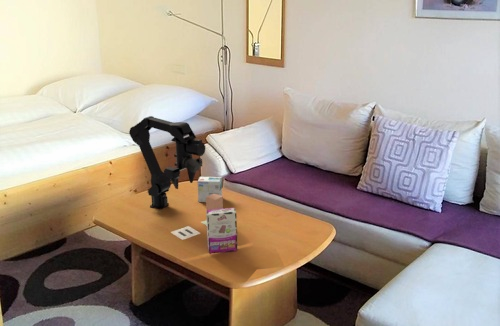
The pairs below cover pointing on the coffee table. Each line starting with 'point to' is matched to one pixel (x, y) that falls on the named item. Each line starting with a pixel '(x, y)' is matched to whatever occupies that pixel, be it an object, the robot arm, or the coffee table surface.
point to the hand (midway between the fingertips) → (184, 185)
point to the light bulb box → (209, 187)
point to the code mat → (187, 232)
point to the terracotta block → (214, 202)
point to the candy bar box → (221, 230)
